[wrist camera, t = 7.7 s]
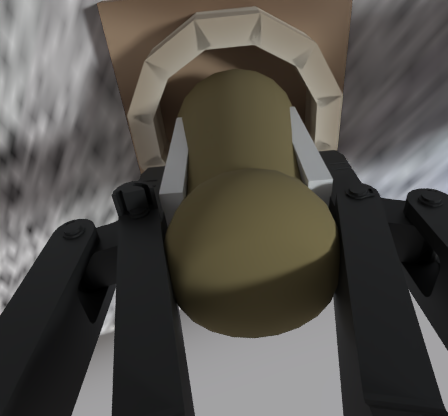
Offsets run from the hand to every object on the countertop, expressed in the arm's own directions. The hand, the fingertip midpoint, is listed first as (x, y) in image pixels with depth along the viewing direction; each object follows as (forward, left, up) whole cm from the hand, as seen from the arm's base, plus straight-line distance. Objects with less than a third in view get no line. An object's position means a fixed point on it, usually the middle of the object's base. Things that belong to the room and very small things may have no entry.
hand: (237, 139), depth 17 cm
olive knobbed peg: (0, 0, -1) cm, 1 cm away
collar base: (0, 0, -4) cm, 4 cm away
